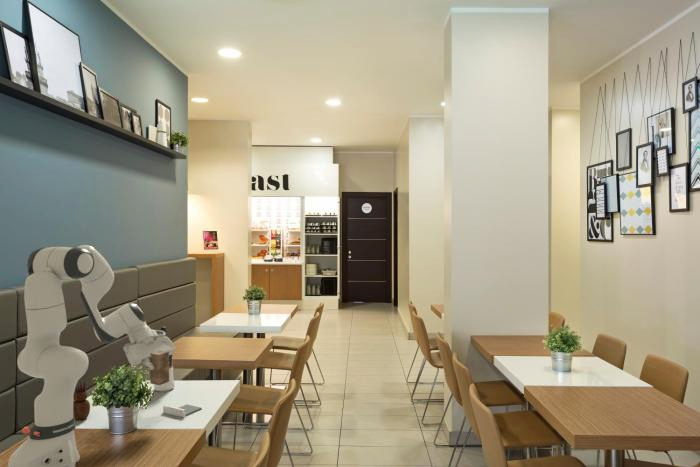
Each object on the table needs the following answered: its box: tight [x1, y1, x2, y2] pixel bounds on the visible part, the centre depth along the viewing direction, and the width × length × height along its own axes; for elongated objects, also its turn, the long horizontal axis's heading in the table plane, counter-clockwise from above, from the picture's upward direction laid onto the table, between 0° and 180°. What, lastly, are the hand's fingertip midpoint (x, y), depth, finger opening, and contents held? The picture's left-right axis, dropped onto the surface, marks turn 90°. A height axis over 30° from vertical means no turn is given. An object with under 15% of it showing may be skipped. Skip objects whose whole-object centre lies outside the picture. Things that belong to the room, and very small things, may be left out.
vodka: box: [153, 326, 176, 393], centre depth 243 cm, size 9×9×30 cm
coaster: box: [178, 403, 202, 417], centre depth 213 cm, size 9×9×1 cm
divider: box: [162, 404, 186, 419], centre depth 209 cm, size 1×12×3 cm, turn 61°
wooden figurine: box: [73, 381, 91, 421], centre depth 206 cm, size 7×6×15 cm
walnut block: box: [149, 351, 169, 385], centre depth 202 cm, size 5×5×12 cm
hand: (160, 366), depth 201 cm, fingers closed on walnut block, 5 cm apart
